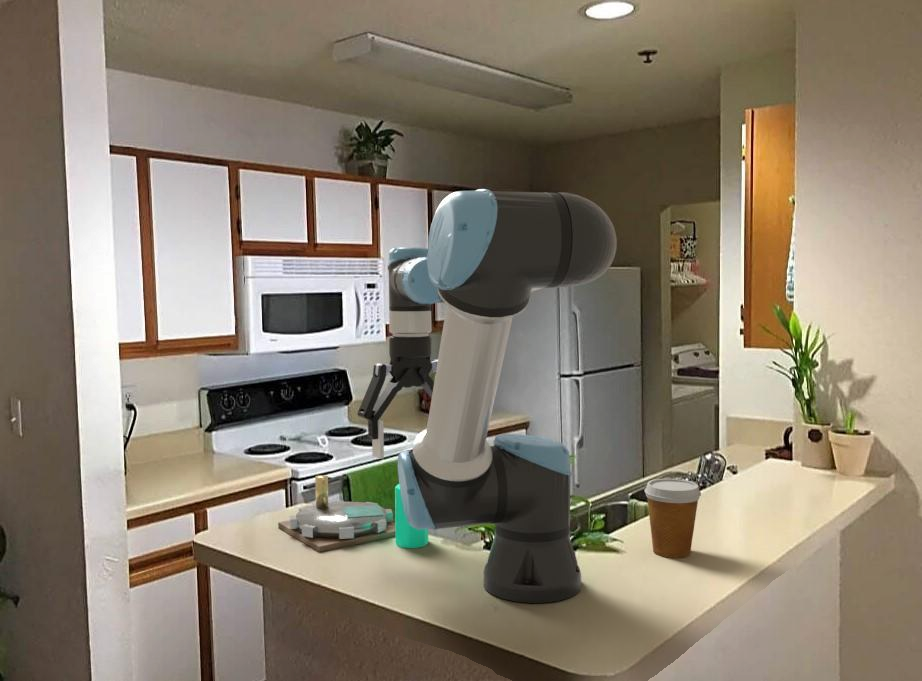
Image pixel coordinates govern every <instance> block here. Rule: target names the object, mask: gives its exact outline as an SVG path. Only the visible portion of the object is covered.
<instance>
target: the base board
mask: <svg viewBox="0 0 922 681" xmlns="http://www.w3.org/2000/svg"><path fill="white" fill-rule="evenodd" d="M277 524H278V528H279V529H280V530H282V531H283V532H285V533H287V534H289V535H290V536H292V537H294V538H295V539H297V540H298V541H300V542H302V543H303V544H306V545H307V546H308V547H310V548H311V549H313V550H315V551H317V552H318V553H321V552H326V551H331V550H335V549H341V548H345V547H350V546H354V545H355V546H356V545H359V544H364V543H369V542H374V541H378V540H379V541H380V540H385V539H388V538H395V537H396V533H395V522H387V523H386V530H384V531H381V532H379V533H375V532H373V533H369V534H365V535H360V536H354V538H347V539H339V538H327V537H317V536H316V537H314V538H311V537H307V536H302V532H300V531H298V530H297V529H290V519H288V520H284V521H278V523H277Z"/></svg>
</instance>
